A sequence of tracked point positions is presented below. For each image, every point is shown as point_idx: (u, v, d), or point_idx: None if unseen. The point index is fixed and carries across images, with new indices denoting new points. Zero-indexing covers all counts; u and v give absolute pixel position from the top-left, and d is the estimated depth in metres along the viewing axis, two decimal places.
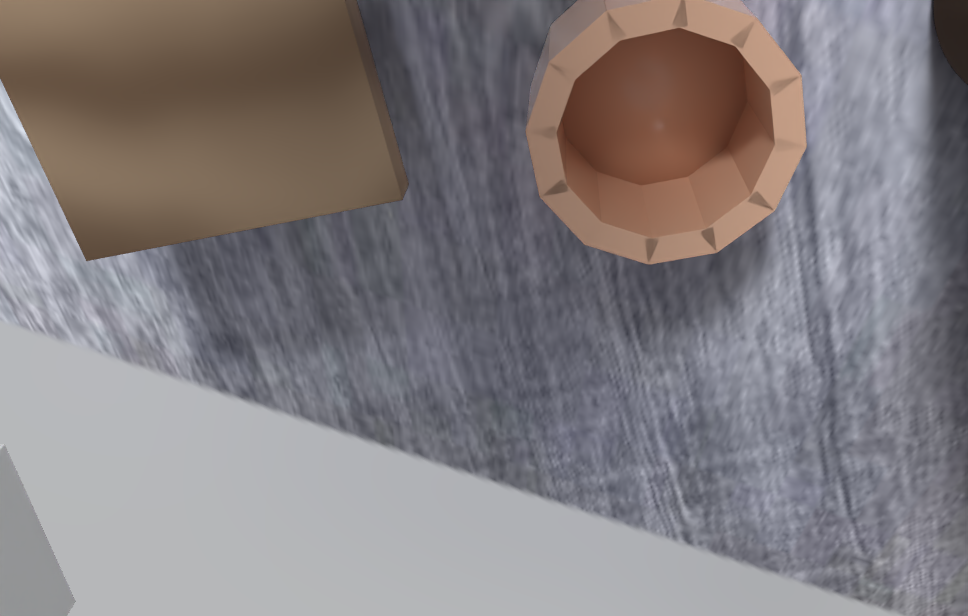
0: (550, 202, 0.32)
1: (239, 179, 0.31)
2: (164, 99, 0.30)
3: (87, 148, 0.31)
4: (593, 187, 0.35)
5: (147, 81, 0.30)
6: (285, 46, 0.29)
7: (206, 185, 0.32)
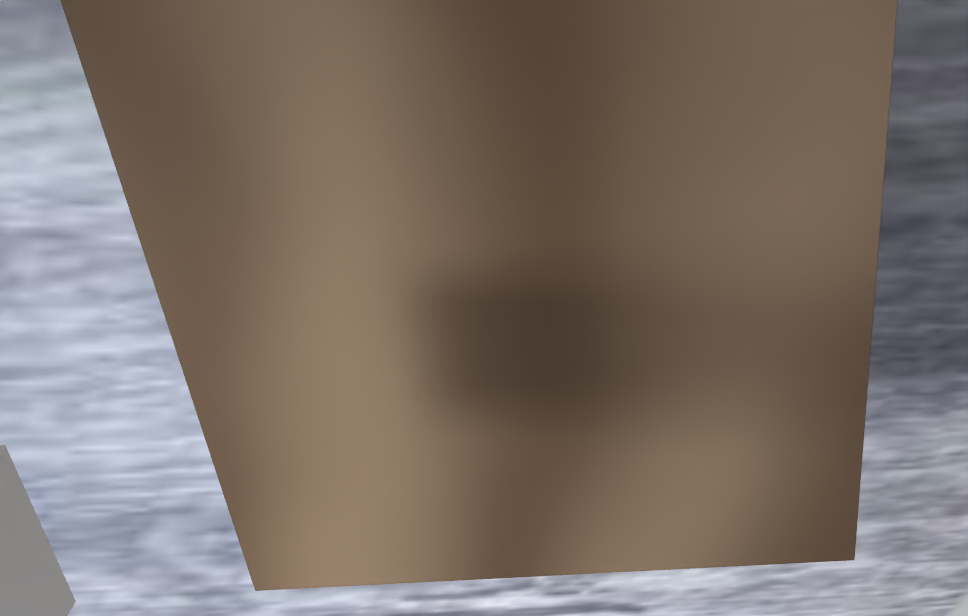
0: None
1: (761, 255, 0.15)
2: (574, 350, 0.16)
3: (642, 496, 0.17)
4: None
5: (537, 369, 0.16)
6: (496, 96, 0.14)
7: (759, 320, 0.15)
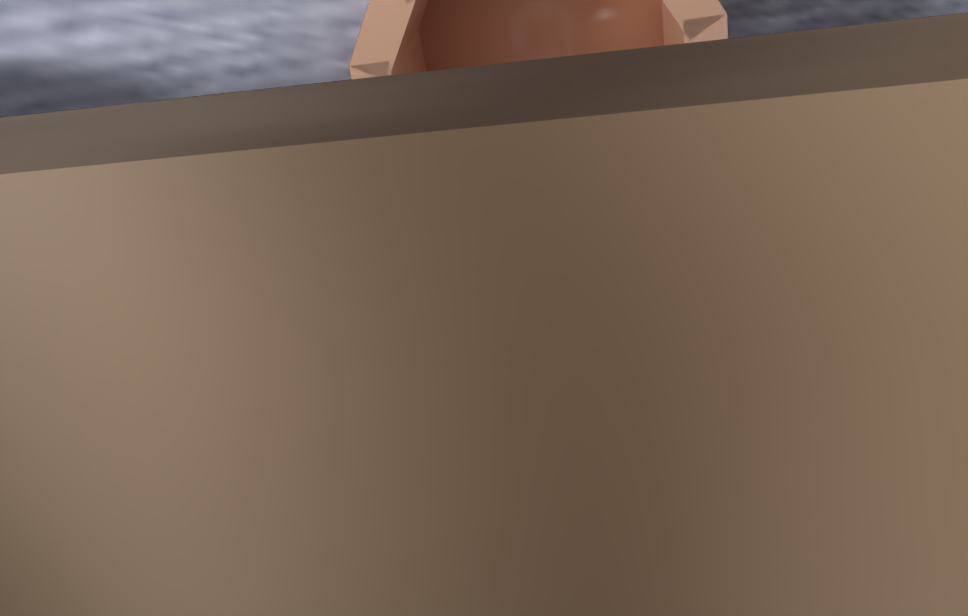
0: None
1: None
2: None
3: None
4: None
5: None
6: (474, 455, 0.06)
7: None
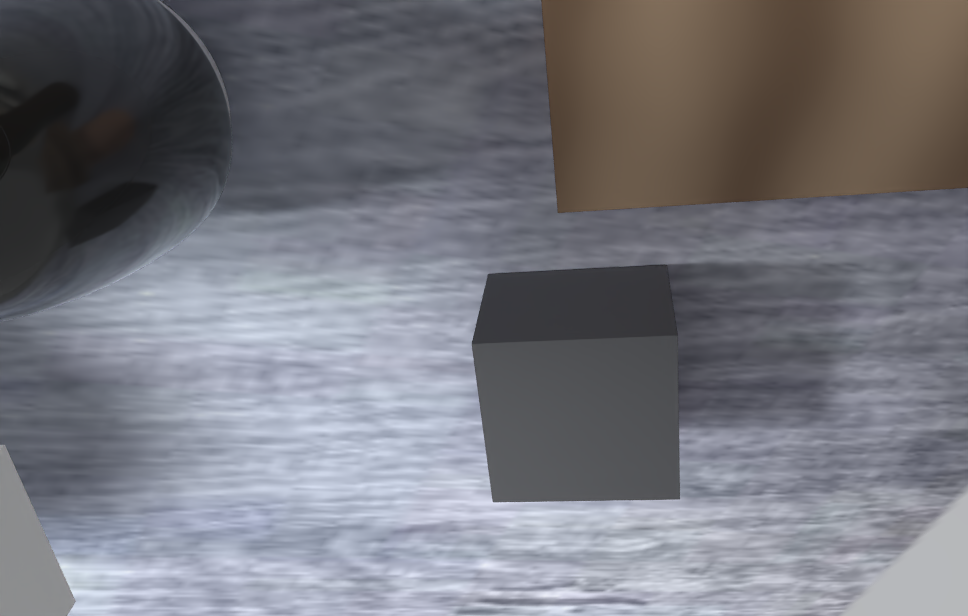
0: None
1: None
2: (815, 9, 0.24)
3: (848, 130, 0.25)
4: None
5: (788, 25, 0.24)
6: None
7: None
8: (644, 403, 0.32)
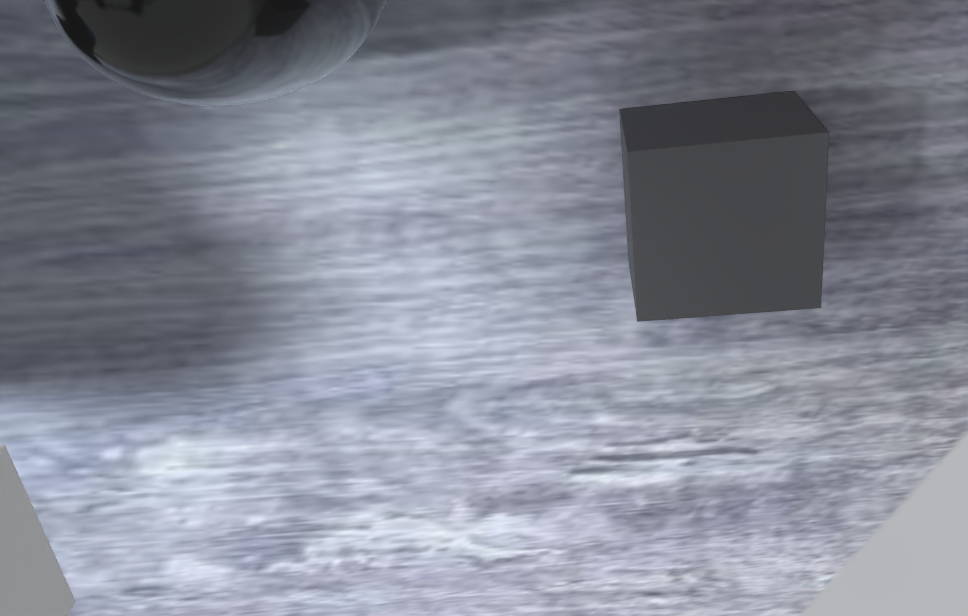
0: None
1: None
2: None
3: None
4: None
5: None
6: None
7: None
8: (791, 206, 0.34)
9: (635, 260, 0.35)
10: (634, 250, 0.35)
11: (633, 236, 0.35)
